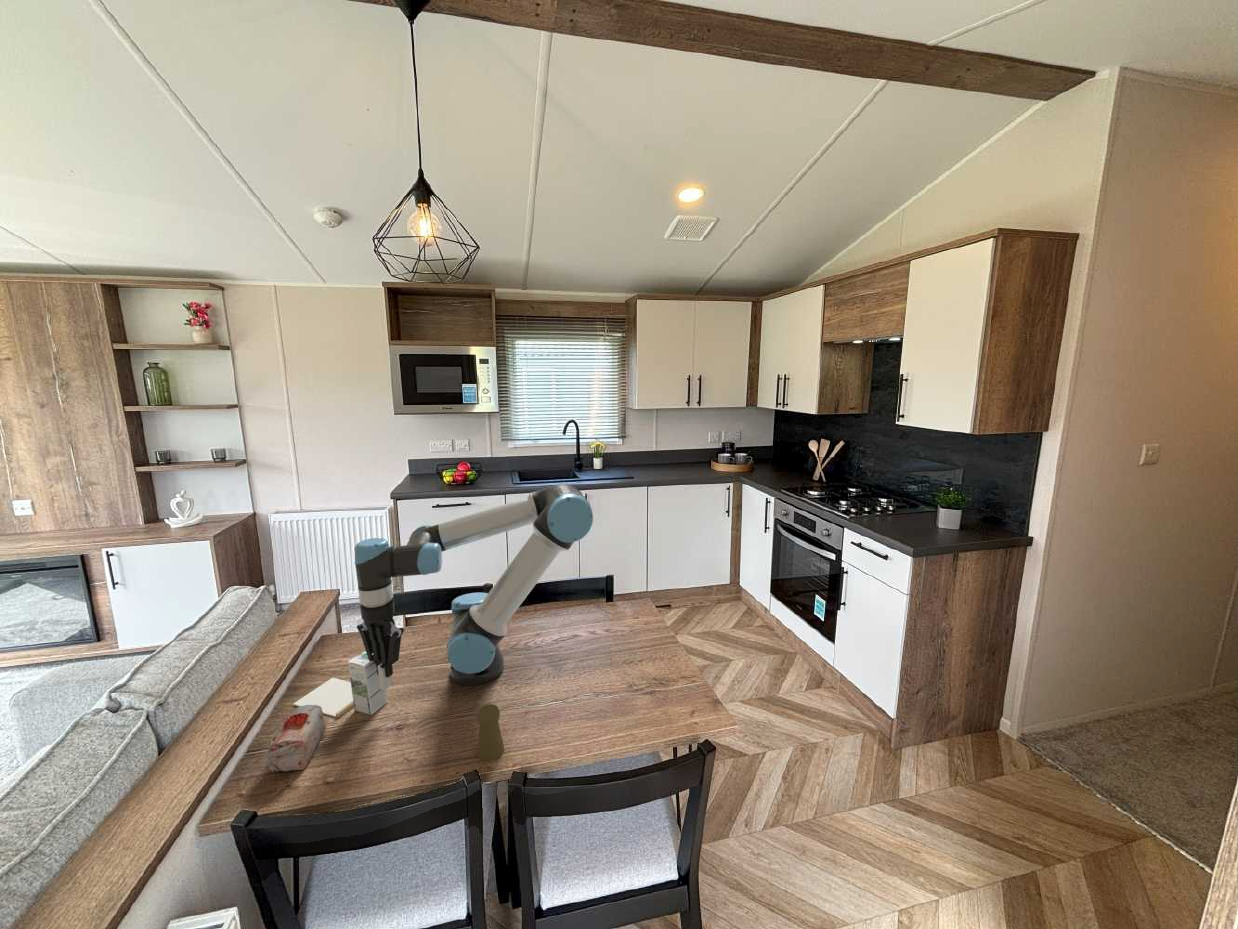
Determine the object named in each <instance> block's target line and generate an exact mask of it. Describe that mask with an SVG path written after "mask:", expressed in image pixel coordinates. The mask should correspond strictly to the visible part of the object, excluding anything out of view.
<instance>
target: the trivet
mask: <svg viewBox="0 0 1238 929" xmlns="http://www.w3.org/2000/svg"><path fill="white" fill-rule="evenodd" d="M292 704H293V706H295V707H300V706H305V705H318V706H320V707H321V708H322V712H323V715H327V716H330V717H333V718H336V719H340V718H341V717H342V716H344V715H345V714H347V712H349V711H350V710H352V708H354V702H353V695H352V688H351V681H348V680H343V679H339V678H336V677H331V678H330V679H328V680H326V681H325V682H324V683H322V684H321V685H319V686H318V687H316V688H315V689H314V690H311V692H309V693H307V694H306V695H304V696H303V697H301V698H299V699H298V700H297V701H295V702H294V703H292Z"/></svg>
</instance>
